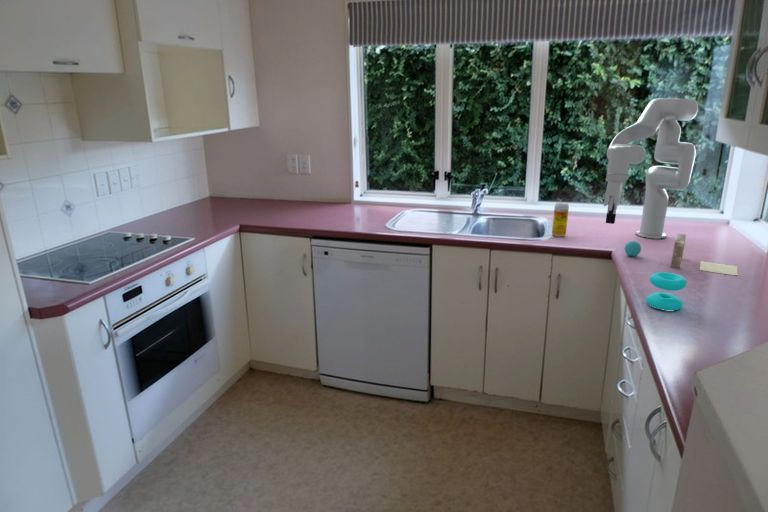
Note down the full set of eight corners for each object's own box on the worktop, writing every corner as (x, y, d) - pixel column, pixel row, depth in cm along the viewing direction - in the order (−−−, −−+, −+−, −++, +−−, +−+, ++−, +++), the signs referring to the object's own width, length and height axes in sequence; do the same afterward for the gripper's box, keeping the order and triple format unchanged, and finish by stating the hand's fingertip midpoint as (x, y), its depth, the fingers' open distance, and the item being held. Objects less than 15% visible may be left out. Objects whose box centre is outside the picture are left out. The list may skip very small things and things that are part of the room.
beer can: (556, 237, 240) (560, 205, 235) (549, 234, 246) (552, 202, 241) (568, 236, 242) (571, 204, 237) (560, 233, 247) (564, 201, 243)
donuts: (680, 271, 166) (692, 283, 156) (675, 301, 169) (686, 314, 159) (646, 270, 167) (656, 280, 158) (641, 299, 170) (651, 311, 161)
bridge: (670, 267, 201) (674, 242, 198) (673, 256, 213) (677, 233, 210) (679, 268, 199) (683, 243, 196) (682, 257, 212) (686, 234, 209)
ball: (624, 252, 218) (626, 238, 216) (640, 255, 215) (643, 240, 213) (622, 256, 213) (624, 242, 211) (638, 259, 210) (641, 244, 208)
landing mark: (700, 261, 207) (700, 261, 207) (737, 266, 201) (737, 266, 201) (699, 270, 197) (699, 269, 197) (737, 276, 191) (737, 275, 191)
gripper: (609, 174, 217) (603, 218, 223) (603, 179, 205) (596, 225, 210) (629, 176, 214) (622, 220, 219) (624, 180, 201) (616, 228, 207)
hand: (610, 222), depth 215 cm, fingers closed
